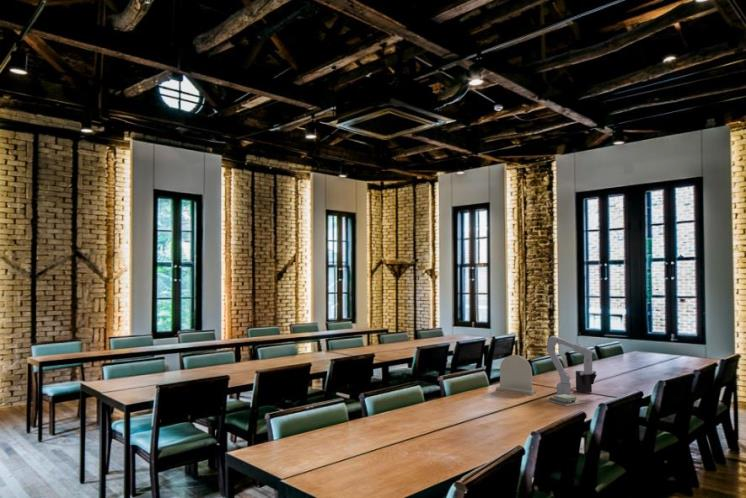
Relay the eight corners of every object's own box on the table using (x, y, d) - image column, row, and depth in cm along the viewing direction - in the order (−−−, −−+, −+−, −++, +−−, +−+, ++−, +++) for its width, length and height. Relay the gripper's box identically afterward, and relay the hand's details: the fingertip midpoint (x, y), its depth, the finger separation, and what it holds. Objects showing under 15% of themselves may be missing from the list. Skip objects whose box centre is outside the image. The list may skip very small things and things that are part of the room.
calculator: (590, 390, 398) (590, 371, 398) (592, 391, 393) (591, 372, 394) (575, 390, 399) (575, 370, 399) (577, 391, 394) (576, 371, 395)
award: (536, 393, 386) (535, 356, 388) (532, 395, 379) (531, 357, 381) (500, 388, 403) (500, 352, 404) (496, 390, 396) (495, 354, 397)
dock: (548, 400, 363) (548, 397, 363) (569, 397, 372) (569, 394, 372) (566, 405, 349) (566, 402, 349) (587, 402, 358) (587, 399, 358)
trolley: (554, 400, 361) (554, 395, 361) (564, 399, 366) (564, 394, 366) (566, 403, 352) (565, 398, 353) (576, 402, 357) (576, 397, 357)
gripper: (585, 367, 368) (585, 386, 368) (599, 365, 375) (599, 384, 374) (577, 365, 375) (577, 384, 374) (591, 364, 381) (591, 382, 381)
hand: (588, 384), depth 375 cm, fingers open, 7 cm apart
